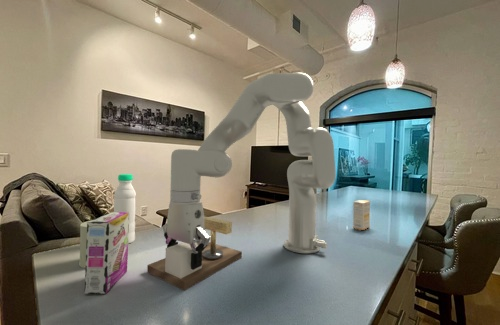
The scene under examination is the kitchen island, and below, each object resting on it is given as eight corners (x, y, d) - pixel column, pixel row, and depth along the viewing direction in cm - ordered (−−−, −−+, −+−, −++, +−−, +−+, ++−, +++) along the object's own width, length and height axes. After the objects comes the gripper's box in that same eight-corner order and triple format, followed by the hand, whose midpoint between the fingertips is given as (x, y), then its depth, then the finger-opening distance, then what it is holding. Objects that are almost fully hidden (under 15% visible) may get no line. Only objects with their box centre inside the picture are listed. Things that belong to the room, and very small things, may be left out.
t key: (191, 254, 70) (192, 218, 70) (205, 248, 75) (206, 214, 75) (221, 264, 64) (222, 225, 64) (234, 257, 69) (235, 220, 69)
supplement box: (359, 225, 115) (360, 199, 115) (369, 228, 111) (370, 200, 111) (352, 228, 109) (353, 201, 109) (362, 231, 106) (363, 202, 106)
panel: (241, 257, 73) (241, 251, 73) (184, 290, 54) (184, 282, 54) (207, 247, 82) (207, 241, 82) (147, 272, 63) (147, 265, 63)
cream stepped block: (210, 263, 65) (211, 241, 65) (180, 278, 56) (181, 253, 56) (195, 257, 68) (196, 237, 68) (165, 271, 59) (165, 248, 59)
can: (93, 270, 63) (94, 226, 63) (71, 264, 66) (72, 223, 66) (122, 257, 72) (123, 219, 72) (101, 253, 75) (102, 216, 75)
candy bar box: (107, 295, 52) (108, 222, 52) (83, 295, 51) (85, 222, 51) (128, 271, 63) (130, 211, 63) (109, 271, 63) (110, 211, 63)
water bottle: (125, 246, 81) (127, 175, 81) (108, 244, 83) (109, 174, 82) (139, 239, 88) (140, 174, 88) (123, 238, 89) (124, 173, 89)
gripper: (220, 198, 59) (218, 266, 59) (175, 192, 68) (174, 250, 68) (198, 202, 52) (196, 278, 52) (152, 194, 62) (151, 259, 62)
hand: (183, 262), depth 60 cm, fingers open, 8 cm apart
